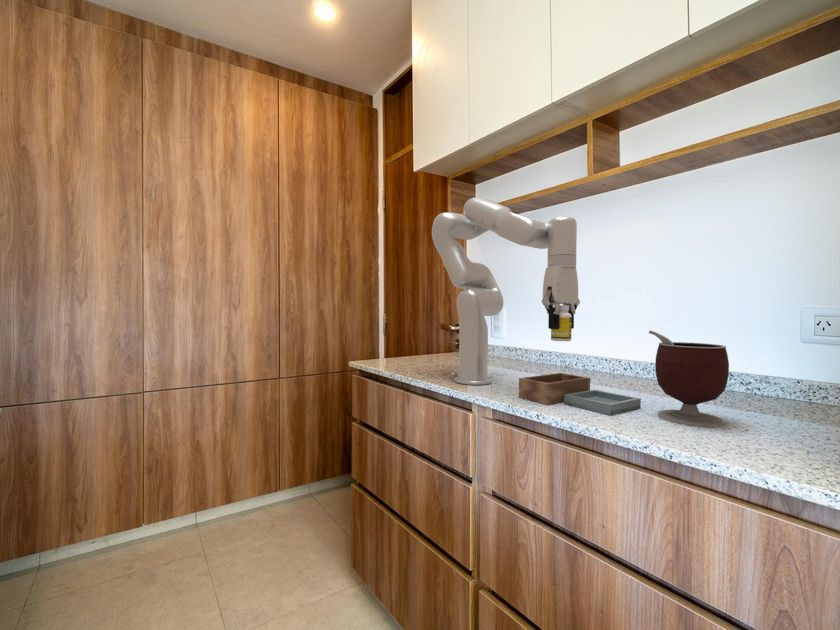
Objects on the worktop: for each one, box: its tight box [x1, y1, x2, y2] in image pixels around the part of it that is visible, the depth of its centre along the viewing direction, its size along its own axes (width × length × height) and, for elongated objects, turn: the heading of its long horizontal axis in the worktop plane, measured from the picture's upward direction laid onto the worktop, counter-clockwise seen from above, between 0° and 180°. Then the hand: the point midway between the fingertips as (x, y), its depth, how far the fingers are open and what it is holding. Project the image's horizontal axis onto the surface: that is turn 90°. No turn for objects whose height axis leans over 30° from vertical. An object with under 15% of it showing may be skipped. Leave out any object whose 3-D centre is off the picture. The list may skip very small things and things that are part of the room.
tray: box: [563, 389, 642, 417], centre depth 104 cm, size 13×13×2 cm
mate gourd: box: [648, 329, 730, 428], centre depth 93 cm, size 16×14×20 cm
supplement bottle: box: [550, 304, 572, 342], centre depth 112 cm, size 5×5×10 cm
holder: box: [518, 372, 591, 406], centre depth 114 cm, size 10×18×6 cm, turn 123°
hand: (561, 328), depth 112 cm, fingers closed on supplement bottle, 5 cm apart
